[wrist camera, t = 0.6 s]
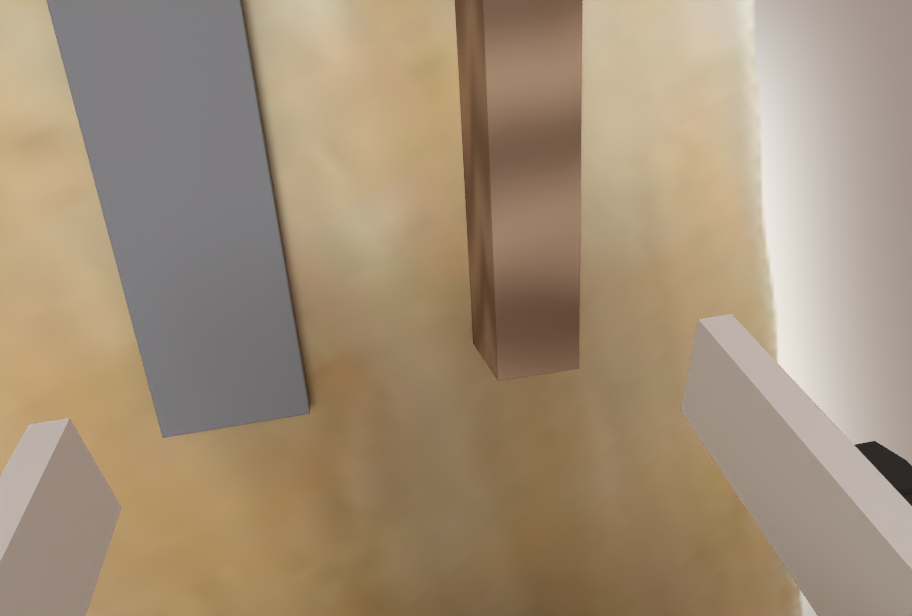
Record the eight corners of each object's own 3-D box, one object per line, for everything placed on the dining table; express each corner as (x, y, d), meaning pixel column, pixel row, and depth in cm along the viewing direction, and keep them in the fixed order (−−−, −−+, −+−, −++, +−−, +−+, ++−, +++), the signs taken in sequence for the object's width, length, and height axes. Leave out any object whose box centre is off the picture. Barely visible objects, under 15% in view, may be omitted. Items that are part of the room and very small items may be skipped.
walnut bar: (542, 331, 34) (578, 368, 30) (472, 341, 33) (498, 381, 29) (537, -88, 27) (583, -125, 23) (448, -87, 27) (478, -125, 22)
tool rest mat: (309, 404, 32) (309, 413, 31) (167, 427, 31) (162, 437, 30) (217, -144, 24) (213, -153, 23) (18, -143, 23) (6, -153, 22)
